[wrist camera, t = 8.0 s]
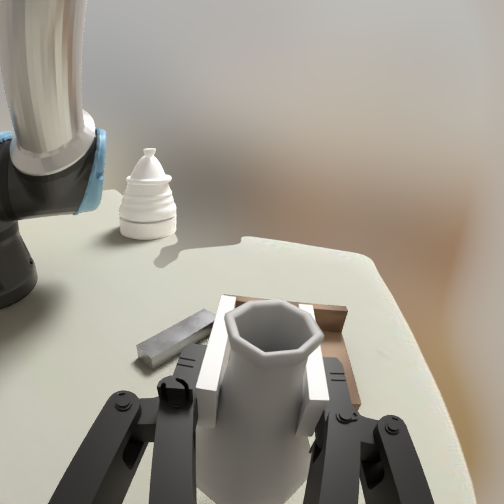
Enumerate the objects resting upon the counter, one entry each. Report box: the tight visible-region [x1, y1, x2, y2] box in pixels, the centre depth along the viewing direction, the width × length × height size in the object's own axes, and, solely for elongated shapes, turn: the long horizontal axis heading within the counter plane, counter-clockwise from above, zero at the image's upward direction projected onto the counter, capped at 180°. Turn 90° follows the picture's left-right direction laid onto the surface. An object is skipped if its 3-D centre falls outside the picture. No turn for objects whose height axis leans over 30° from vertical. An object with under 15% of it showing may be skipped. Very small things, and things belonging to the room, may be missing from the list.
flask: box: [196, 299, 324, 504], centre depth 11 cm, size 7×7×10 cm
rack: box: [224, 294, 361, 411], centre depth 28 cm, size 14×12×4 cm
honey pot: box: [119, 148, 176, 240], centre depth 59 cm, size 13×13×18 cm
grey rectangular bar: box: [136, 309, 216, 370], centre depth 30 cm, size 2×10×2 cm, turn 144°
